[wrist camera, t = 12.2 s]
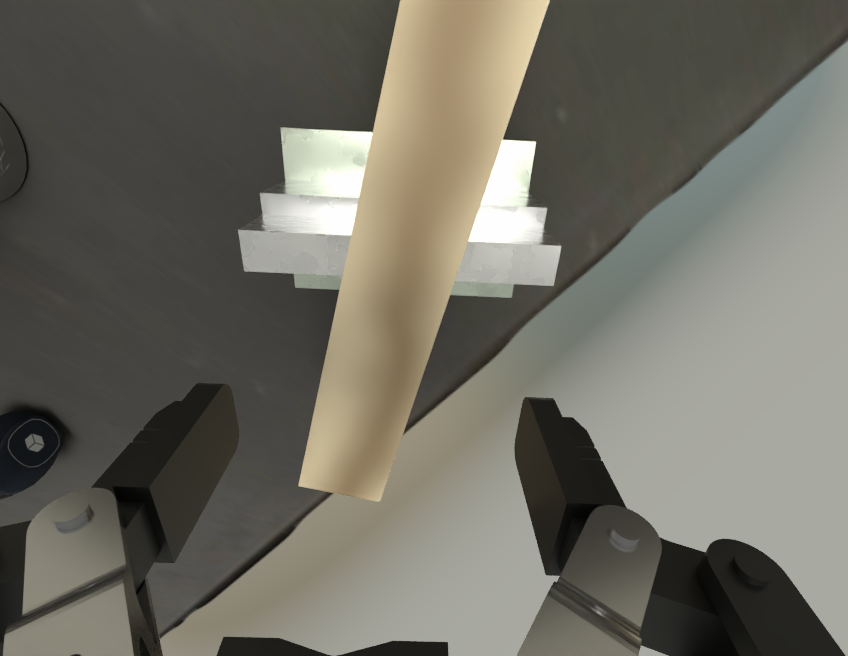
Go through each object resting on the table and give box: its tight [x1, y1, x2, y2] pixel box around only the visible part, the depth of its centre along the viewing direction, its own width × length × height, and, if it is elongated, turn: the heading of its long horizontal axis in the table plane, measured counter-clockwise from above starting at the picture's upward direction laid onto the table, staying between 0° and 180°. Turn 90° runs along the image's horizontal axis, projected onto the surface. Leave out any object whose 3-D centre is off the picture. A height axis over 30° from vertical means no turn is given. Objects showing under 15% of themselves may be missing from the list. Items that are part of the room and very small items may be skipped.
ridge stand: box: [238, 127, 561, 298], centre depth 29 cm, size 18×12×11 cm, turn 87°
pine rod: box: [299, 0, 550, 502], centre depth 22 cm, size 5×28×5 cm, turn 164°
